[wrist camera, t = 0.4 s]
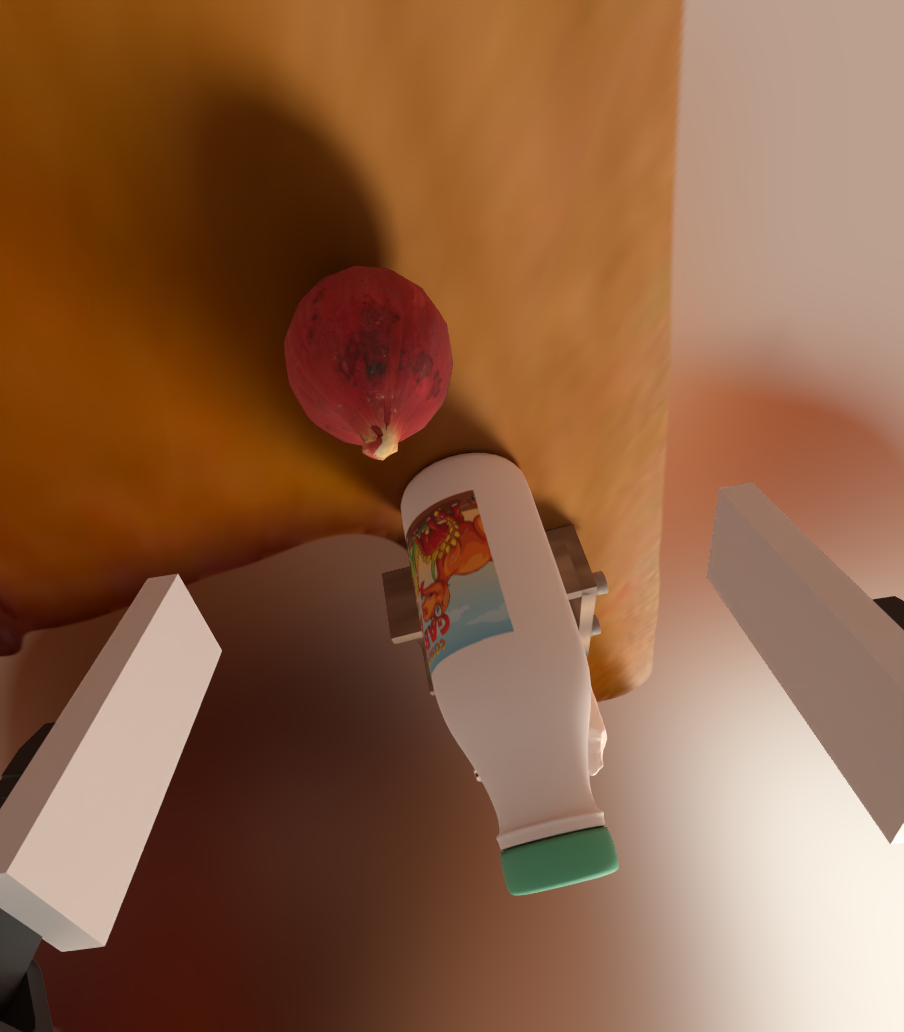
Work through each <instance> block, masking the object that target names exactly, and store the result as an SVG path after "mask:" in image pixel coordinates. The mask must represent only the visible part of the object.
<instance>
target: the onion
mask: <svg viewBox="0 0 904 1032" xmlns="http://www.w3.org/2000/svg"><path fill="white" fill-rule="evenodd" d="M284 349H285V359H286V367H287V373H288V379H289V385H290V387H291V389H292V391H293V393H294V395H295V397H296V398H297V400H298V402H299V403H300V405H301V407H302V408H303V410H304V412H305V413H306V415H307V416H308V418H309V420H311V421H312V422H313V423H314V424H315V425H316V426H317V427H319V428H321V429H322V430H324V431H326V432H327V433H329V434H331V435H332V436H334V437H336V438H337V439H339V440H341V441H343V442H347V443H351V444H356V445H361V446H362V453H364V454H365V455H367V456H368V457H371V458H374V459H378V460H384V459H385V458H386V457H388V456H389V455H391V454H393V453H395V452H397V451H398V442H400V441H403V440H404V439H406V438H408V437H410V436H411V435H413V434H415V433H417V432H418V431H420V430H421V429H423V428H424V427H425V426H426V425H427V423H428V422H429V421H430V420H431V418H432V417H433V416H434V415H435V413H436V412H437V411H438V410H439V408H440V407H441V406H442V404H443V402H444V400H445V398H446V395H447V391H448V387H449V382H450V378H451V373H452V366H453V361H452V353H451V346H450V340H449V334H448V328H447V324H446V322H445V321H444V319H443V317H442V316H441V314H440V312H439V311H438V309H437V308H436V307H435V305H434V304H433V303H432V301H431V300H430V298H429V297H428V296H427V294H426V293H425V292H424V290H423V289H422V288H421V287H419V286H418V285H416V284H414V283H413V282H411V281H409V280H407V279H406V278H404V277H402V276H401V275H399V274H397V273H396V272H394V271H392V270H389V269H386V268H376V267H365V266H353V267H350V268H348V269H345V270H343V271H340V272H337V273H335V274H332V275H330V276H327V277H325V278H322V279H320V280H319V281H318V282H317V283H316V285H315V286H314V287H313V288H312V289H311V290H310V291H309V292H308V293H307V294H306V295H305V296H304V297H303V298H302V299H301V300H300V301H299V303H298V305H297V308H296V310H295V313H294V315H293V318H292V321H291V323H290V326H289V329H288V331H287V334H286V337H285V340H284Z"/></svg>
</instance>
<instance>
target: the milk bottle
mask: <svg viewBox="0 0 904 1032" xmlns="http://www.w3.org/2000/svg"><path fill="white" fill-rule="evenodd" d="M401 514H402V521H403V527H404V533H405V539H406V545H407V551H408V556H409V562H410V568H411V573H412V579H413V585H414V590H415V596H416V602H417V607H418V613H419V618H420V623H421V629H422V634H423V640H424V645H425V650H426V656H427V660H428V665H429V669H430V674H431V679H432V683H433V688H434V692H435V695H436V698H437V701H438V704H439V707H440V710H441V712H442V715H443V717H444V720H445V722H446V724H447V726H448V727H449V729H450V731H451V733H452V735H453V736H454V738H455V740H456V741H457V743H458V744H459V746H460V747H461V749H462V750H463V751H464V753H465V755H466V756H467V758H468V759H469V761H470V762H471V764H472V765H473V767H474V768H475V770H476V772H477V773H478V775H479V777H480V778H481V780H482V782H483V784H484V786H485V788H486V790H487V792H488V794H489V796H490V798H491V801H492V803H493V805H494V808H495V811H496V814H497V817H498V821H499V826H500V832H499V835H498V836H497V838H496V839H497V841H498V842H499V846H500V849H501V851H504V852H501V864H502V869H503V874H504V878H505V882H506V886H507V888H508V890H509V893H511V894H512V895H525V894H531V893H536V892H541V891H545V890H550V889H554V888H558V887H563V886H567V885H571V884H575V883H579V882H583V881H587V880H591V879H595V878H598V877H602V876H605V875H607V874H610V873H613V872H614V871H616V870H617V869H618V867H619V866H618V857H617V854H616V850H615V847H614V844H613V840H612V837H611V835H610V832H609V830H608V829H607V827H604V826H605V821H604V818H603V815H604V812H603V811H601V810H598V808H597V807H596V805H595V803H594V800H593V797H592V793H591V788H590V782H589V770H588V733H589V721H590V710H591V682H590V674H589V667H588V663H587V658H586V653H585V650H584V647H583V643H582V640H581V637H580V633H579V630H578V627H577V624H576V620H575V617H574V614H573V611H572V608H571V606H570V603H569V600H568V597H567V594H566V591H565V588H564V585H563V582H562V579H561V576H560V573H559V570H558V568H557V565H556V562H555V559H554V556H553V553H552V550H551V548H550V545H549V542H548V539H547V536H546V533H545V530H544V528H543V525H542V522H541V519H540V516H539V513H538V511H537V508H536V505H535V502H534V499H533V497H532V494H531V491H530V488H529V486H528V483H527V481H526V478H525V476H524V474H523V473H522V471H521V470H520V469H519V468H518V467H517V466H516V465H515V464H514V463H512V462H511V461H509V460H507V459H506V458H504V457H501V456H498V455H495V454H488V453H467V454H459V455H456V456H452V457H448V458H445V459H443V460H440V461H438V462H435V463H433V464H432V465H430V466H428V467H426V468H425V469H423V470H422V471H421V472H420V473H418V474H417V475H416V476H415V477H414V478H413V479H412V480H411V481H410V483H409V484H408V486H407V488H406V490H405V491H404V494H403V498H402V501H401Z"/></svg>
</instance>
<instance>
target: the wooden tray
mask: <svg viewBox="0 0 904 1032" xmlns="http://www.w3.org/2000/svg"><path fill="white" fill-rule="evenodd" d="M545 533H546V536H547V539H548V542H549V545H550V548H551V550H552V553H553V556H554V559H555V562H556V565H557V568H558V570H559V573H560V576H561V579H562V582H563V585H564V588H565V591H566V594H567V597H568V600H569V603H570V606H571V608H572V611H573V614H574V617H575V620H576V624H577V627H578V630H579V633H580V637H581V640H582V643H583V647H584V650H585V653H586V657H587V656H588V652H589V645H590V637H591V636H592V635H596V634H600V633H601V629H600V625H599V622H598V619H597V617H596V615H594V608H595V600H596V596H597V595H601V594H605V593H608V586H607V582H606V579H605V576H604V574H603V572H602V571H599V572H595V573H592V572H591V569H590V566H589V564H588V561H587V559H586V556H585V554H584V551H583V549H582V546H581V544H580V541H579V538H578V536H577V533H576V531H575V528H574V526H573V524H572V525H569V526H565V527H561V528H557V529H553V530H549V531H545ZM382 578H383V585H384V591H385V599H386V606H387V613H388V621H389V628H390V634H391V640H392V641H393V642H394V644H397V643H401V642H404V641H409V640H413V639H417V641H418V642H419V644H420V645H421V647H422V649H423V656H424V661H425V667H426V673H427V679H428V685H429V690H430V693H431V695H435V692H434V688H433V683H432V679H431V674H430V669H429V665H428V660H427V656H426V650H425V645H424V640H423V634H422V629H421V623H420V618H419V613H418V607H417V602H416V596H415V590H414V585H413V579H412V573H411V568H410V567H406V568H402V569H398V570H394V571H390V572H386V573H383V574H382Z"/></svg>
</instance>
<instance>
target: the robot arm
mask: <svg viewBox="0 0 904 1032" xmlns="http://www.w3.org/2000/svg"><path fill="white" fill-rule="evenodd" d="M707 578H708V580H709V581H710V583H711V584H712V586H713V587H714V589H715V590H716V591H717V593H718V594H719V596H720V597H721V599H722V600H723V602H724V603H725V605H726V606H727V607H728V608H729V610H730V612H731V613H732V615H733V616H734V617H735V619H736V620H737V622H738V623H739V625H740V626H741V628H742V629H743V631H744V632H745V634H746V635H747V636H748V638H749V639H750V641H751V642H752V644H753V645H754V647H755V648H756V650H757V651H758V652H759V654H760V655H761V657H762V658H763V660H764V661H765V662H766V664H767V665H768V667H769V668H770V670H771V671H772V673H773V674H774V676H775V677H776V679H777V680H778V681H779V683H780V684H781V686H782V687H783V689H784V690H785V692H786V693H787V695H788V696H789V698H790V699H791V700H792V702H793V703H794V705H795V706H796V708H797V709H798V710H799V712H800V714H801V715H802V716H803V718H804V719H805V721H806V722H807V724H808V725H809V727H810V728H811V729H812V731H813V732H814V734H815V735H816V737H817V738H818V740H819V741H820V743H821V744H822V745H823V747H824V748H825V750H826V751H827V753H828V754H829V756H830V757H831V759H832V760H833V761H834V763H835V764H836V766H837V767H838V769H839V770H840V772H841V773H842V775H843V776H844V777H845V779H846V780H847V782H848V783H849V785H850V786H851V788H852V789H853V791H854V792H855V793H856V795H857V796H858V798H859V799H860V801H861V802H862V804H863V805H864V807H865V808H866V809H867V811H868V812H869V814H870V815H871V817H872V818H873V820H874V821H875V822H876V824H877V825H878V827H879V828H880V830H881V831H882V833H883V834H884V835H885V837H886V839H887V840H888V841H889V843H890V844H896V843H904V601H903V600H901V599H899V598H897V597H895V596H893V597H886V598H879V599H873V600H872V599H871V598H870V597H869V596H868V595H867V594H866V593H865V592H864V591H863V590H862V589H861V588H860V587H859V586H858V585H857V584H856V583H854V582H853V581H852V580H851V579H850V578H849V577H848V576H847V575H846V574H845V573H844V572H843V571H842V570H841V569H840V568H839V567H838V566H837V565H836V564H835V563H834V562H833V561H832V560H831V559H830V558H829V557H828V556H827V555H826V554H825V553H824V552H823V551H822V550H821V549H819V547H817V546H816V545H815V544H814V543H813V542H812V541H811V540H810V539H809V538H808V537H807V536H806V535H805V534H804V533H803V532H802V531H801V530H800V529H799V528H798V527H797V526H796V525H795V524H794V523H793V522H792V521H791V520H790V519H789V518H788V517H787V516H786V515H784V513H783V512H782V511H781V510H780V509H779V508H777V507H776V506H775V505H774V504H773V503H772V502H771V501H770V500H769V499H768V498H767V497H766V496H765V495H764V494H763V493H762V492H761V491H760V490H759V489H758V488H757V487H756V486H755V485H754V484H753V483H747V484H741V485H735V486H728V487H722V488H719V491H718V498H717V506H716V513H715V520H714V527H713V534H712V542H711V549H710V556H709V563H708V570H707ZM221 652H222V650H221V648H220V647H219V645H218V643H217V641H216V640H215V638H214V636H213V634H212V633H211V631H210V629H209V627H208V626H207V624H206V622H205V620H204V619H203V617H202V615H201V613H200V612H199V610H198V608H197V606H196V605H195V603H194V601H193V599H192V598H191V596H190V594H189V592H188V591H187V589H186V587H185V585H184V584H183V582H182V580H181V578H180V577H179V575H178V574H174V575H168V576H162V577H155V578H149V579H147V581H146V582H145V584H144V585H143V587H142V589H141V590H140V592H139V593H138V595H137V596H136V598H135V599H134V601H133V603H132V604H131V606H130V607H129V609H128V611H127V612H126V614H125V615H124V617H123V618H122V620H121V621H120V623H119V624H118V626H117V628H116V629H115V631H114V632H113V634H112V636H111V637H110V639H109V640H108V642H107V643H106V645H105V646H104V648H103V649H102V651H101V653H100V654H99V656H98V657H97V659H96V660H95V662H94V664H93V665H92V667H91V668H90V670H89V672H88V673H87V674H86V676H85V678H84V679H83V681H82V682H81V684H80V685H79V687H78V689H77V690H76V692H75V693H74V695H73V696H72V698H71V699H70V701H69V703H68V704H67V706H66V707H65V709H64V710H63V712H62V714H61V715H60V717H59V718H58V720H57V721H56V722H54V723H47V724H44V725H43V726H42V727H41V728H40V729H39V730H38V731H37V732H36V733H35V734H34V735H33V736H32V737H31V738H30V739H29V740H28V741H27V742H26V743H25V744H24V745H23V746H22V747H21V748H20V749H19V750H18V752H17V753H16V755H15V756H14V758H13V759H12V761H11V762H10V764H9V765H8V767H7V768H6V770H5V771H4V773H3V774H2V780H0V1032H53V1027H52V1022H51V1018H50V1012H49V1007H48V1002H47V997H46V992H45V987H44V982H43V977H42V972H41V969H40V968H39V966H38V964H37V963H36V961H35V960H33V959H32V958H33V956H34V954H35V952H36V950H37V947H38V946H39V943H40V941H41V939H44V940H45V941H47V942H48V943H50V944H51V945H53V946H54V947H56V948H57V949H58V950H60V951H61V952H64V951H71V950H78V949H87V948H95V947H102V946H105V944H106V941H107V939H108V937H109V934H110V932H111V929H112V926H113V924H114V921H115V919H116V916H117V914H118V911H119V909H120V906H121V904H122V901H123V899H124V896H125V894H126V891H127V889H128V886H129V883H130V881H131V879H132V876H133V874H134V871H135V869H136V866H137V864H138V861H139V859H140V856H141V853H142V851H143V848H144V846H145V843H146V841H147V838H148V836H149V833H150V831H151V828H152V826H153V823H154V821H155V818H156V816H157V813H158V811H159V808H160V806H161V803H162V801H163V798H164V796H165V793H166V790H167V788H168V785H169V783H170V780H171V778H172V775H173V773H174V770H175V768H176V765H177V763H178V760H179V758H180V755H181V753H182V750H183V747H184V745H185V743H186V740H187V737H188V735H189V733H190V730H191V727H192V725H193V722H194V720H195V717H196V715H197V712H198V709H199V707H200V705H201V702H202V700H203V697H204V695H205V692H206V690H207V687H208V684H209V682H210V680H211V677H212V674H213V672H214V669H215V667H216V664H217V662H218V659H219V657H220V654H221Z"/></svg>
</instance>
